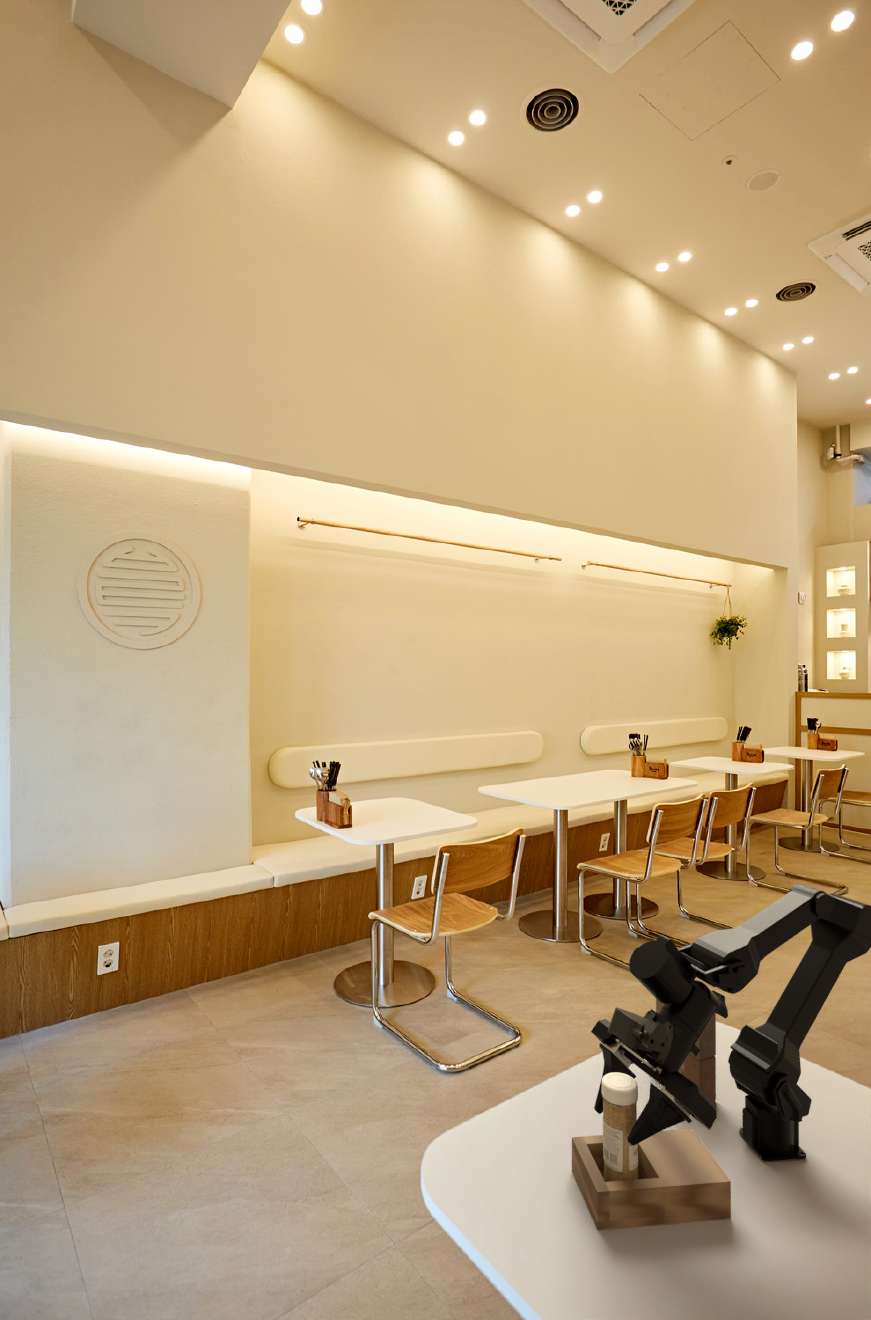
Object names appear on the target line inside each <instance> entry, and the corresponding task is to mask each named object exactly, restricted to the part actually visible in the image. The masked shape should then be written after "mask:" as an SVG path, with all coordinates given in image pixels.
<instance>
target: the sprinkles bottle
mask: <svg viewBox="0 0 871 1320" xmlns="http://www.w3.org/2000/svg"><path fill="white" fill-rule="evenodd" d="M601 1079H602V1097H603V1112H602V1115H603V1116H602V1135H603V1158H604V1178H603V1179H604V1181H605V1182H612V1181H625V1180H638V1144H636V1145H634V1146H633V1145H631V1144H630V1143H629V1142H628V1141H627V1138H628V1136H629V1134H630V1132H631V1130H632V1128H633V1126H634V1124H635V1123H636V1121H637V1119H638V1116H637V1115H638V1113H637V1107H638V1106H637V1105H638V1104H637V1102H638V1100H639V1089H638V1088H639V1085H638V1082H637V1080H636V1078H635V1079H634V1078H632V1077H631V1076H629V1075H627V1074H624V1073H619V1072H613V1073H608V1074H606V1075H604V1076H603V1078H602V1077H601Z"/></svg>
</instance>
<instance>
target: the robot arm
mask: <svg viewBox="0 0 871 1320" xmlns="http://www.w3.org/2000/svg"><path fill="white" fill-rule="evenodd" d="M809 926H810V931H811V932H810V933H811V942H810V945H808V948H807V950H806V951H805V953H804V954H803V956H802V958H801V960H800V962H799V964H798V965H797V967H796V969H795V971H794V972H793V973H792V976H791V977H790V979H789V981H788V983H786V986H785V988H784V989H783V992H782V993H781V995H780V997H779V998H778V1000H777V1002H776V1004H775V1005H774V1007H773V1009H772V1011H771V1012H770V1014H769V1016H768V1018H767V1020H766V1021H765V1022H764V1023H763V1024H762V1025H759V1026H757V1027H755V1028H753V1027H752V1026H751V1025H748V1024H745V1025H744V1026H743V1027H742V1028H741V1029H740V1032H739V1035H738V1037H737V1038H736V1040H735V1041H734V1042H733V1043H731V1045H730V1049H731V1052H730V1053H729V1057H728V1060H727V1061H728V1064H729V1072H730V1075H731V1077H732V1079H734V1083H735V1086H736V1088H737V1089H738V1090H739V1091H741V1092H744V1094H746V1095H745V1096H744V1105H745V1106H744V1107H743V1108H742V1110H741V1111H742V1115H741V1116H742V1119H741V1120H742V1121H741V1122H742V1127H740V1128H739V1130H738V1133H739V1134H740V1135H741V1136H742V1138H743V1140H745V1141H746V1143H747V1144H748V1145H749V1146H750V1147H751V1149H753V1151H754V1152H755V1153H756V1154H757V1156H758V1157H759V1158H760V1159H761V1161H763V1162H766V1163H767V1162H779V1161H793V1160H804V1159H805V1160H806V1159H807V1153H806V1152H805V1151H804V1150H803V1149H802V1147H800V1134H799V1133H800V1128H799V1127H800V1122H803V1117H806V1116H808V1115H809V1113H810V1109H811V1105H812V1101H813V1100H812V1099H811V1097H810V1096H809V1095H808V1094H807V1093H806V1092H805V1091H804V1090H803V1088H801V1086H799V1084H798V1082H799V1080H800V1077H801V1075H802V1068H801V1066H802V1065H801V1054H800V1049H801V1047H802V1045H803V1043H804V1041H805V1039H806V1037H807V1035H808V1034H809V1032H810V1029H811V1028H812V1026H813V1025H814V1022H815V1021H816V1019H817V1017H818V1015H819V1014H820V1012H821V1010H822V1008H823V1006H824V1005H825V1003H826V1001H827V999H828V998H829V995H830V993H831V991H832V990H833V988H834V986H835V985H836V983H837V981H838V979H839V977H840V975H841V974H842V971H843V970H844V968H845V966H846V965H847V964H848V963H849V962H852V961H853V960H855V959H857V958H859V957H861V956H864V955H866V954H867V953H868V952H869V951H870V949H871V905H870V904H867V903H865V902H861V901H858V900H855V899H852V898H849V897H846V896H843V895H839V894H837V893H833V892H832V893H827V892H826V891H824V890H821V889H818V888H815V887H812V886H808V885H806V884H801V883H800V884H794V885H792V886H791V887H790V888H789V890H788V892H787V893H786V894H784V895H783V896H781V897H780V898H779V899H776V901H774V902H773V903H771V904H770V905H768V906H766V907H765V908H764V909H762V910H761V911H759V912H758V913H756V914H755V915H753V916H751V917H750V918H749V919H746V921H744V922H743V923H741V924H739V925H737V926H736V927H733V928H728V929H727V928H725V929H718V930H713V931H711V932H709V933H707V934H704V935H701V936H700V937H698V938H696V939H695V940H694V941H693V942H692V943H691V944H688V945H684V946H682V947H680V948H679V947H678V946H677V945H676V944H675V942H674V941H673V940H672V939H670V938H669V937H667V936H665V935H664V934H660V935H658V937H657V938H656V939H655V940H650V941H647V942H644V943H643V944H641V945H640V946H638V947H636V948H635V949H634V950H633V951H632V953H631V955H630V958H629V961H628V962H629V963H628V966H629V971H630V973H631V974H632V976H633V977H634V978H635V979H637V981H638V982H639V983H640V984H641V986H643V987H644V988H645V990H647V991H648V992H649V993H650V994H651V995H652V996H653V997H654V998H655V1000H656V999H657V1000H658V1001H659V1002H661V1003H663V1005H662V1006H661V1008H660V1009H659V1011H658V1012H656V1010H653V1008H650V1010H647V1012H646V1013H645V1015H644V1016H641V1015H638V1014H636V1013H634V1012H632V1011H629V1010H625V1009H622V1008H620V1007H615V1008H614V1012H613V1013H612V1014H613V1015H612V1017H611V1020H608V1019H606V1018H604V1019H599V1020H598V1021H597V1022H596V1024H595V1025H594V1026H593V1027H592V1029H591V1031H590V1033H591V1034H593V1035H592V1036H594V1037H596V1039H597V1040H598V1041H599V1045H598V1046H599V1048H600V1050H601V1051H602V1052H601V1053H602V1057H603V1069H602V1076H601V1080H600V1082H599V1083H600V1084H599V1087H598V1090H597V1095H596V1099H595V1103H594V1107H593V1109H594V1111H596V1112H597V1114H599V1115H601V1114H603V1097H602V1078H603V1076H604V1075H606V1074H608V1073H613V1072H619V1073H624V1074H627V1075H629V1076H631V1077H632V1078H634V1079H635V1080H636V1078H637V1075H636V1074H635V1073H634V1072H633V1071H632V1070H631V1069H630V1066H631V1065H635V1066H636V1067H637V1068H639V1069H640V1070H641V1071H643V1072H644V1073H645V1074H646V1075H648V1076H649V1077H650V1078H652V1079H653V1080H654V1081H655V1082H656V1083H658V1084H660V1086H661V1089H659V1088H658V1087H657V1086H656V1085H654V1083H652V1082H650V1084H649V1098H648V1100H647V1103H646V1104H645V1106H644V1108H643V1110H642V1111H641V1113H640V1115H639V1116H638V1117H637V1121H636V1123H635V1124H634V1126H633V1128H632V1130H631V1132H630V1134H629V1136H628V1138H627V1141H628V1142H629V1143H630V1144H631V1145H633V1146H634V1145H636V1144H638V1143H640V1142H642V1141H643V1140H645V1139H647V1138H649V1137H651V1136H653V1135H654V1134H656V1133H658V1132H660V1131H665V1130H667V1129H668V1128H671V1127H673V1126H676V1125H678V1124H681V1123H683V1122H687V1123H688V1124H689V1125H690V1124H691V1123H692V1122H693V1119H695V1120H696V1121H697V1122H698V1123H700V1125H702V1126H703V1127H705V1128H706V1129H707V1130H711V1128H712V1127H713V1125H714V1123H715V1122H716V1121H717V1116H718V1115H717V1114H718V1113H717V1112H718V1109H717V1107H718V1106H717V1104H716V1103H715V1102H713V1101H712V1100H711V1099H710V1098H709V1097H708V1096H707V1095H706V1094H705V1093H704V1092H703V1091H702V1090H701V1089H700V1088H699V1087H698V1086H697V1085H696V1084H694V1083H693V1082H692V1081H690V1080H689V1079H688V1078H686V1077H685V1076H683V1075H682V1074H681V1073H679V1072H678V1071H679V1070H680V1068H681V1066H682V1065H683V1063H684V1062H685V1060H686V1058H687V1057H688V1055H689V1054H690V1053H691V1054H693V1055H694V1056H697V1055H698V1053H699V1052H700V1049H699V1048H698V1047H697V1046H696V1045H695V1044H696V1042H697V1041H698V1039H699V1038H700V1036H701V1034H702V1033H703V1031H704V1030H705V1028H706V1026H707V1025H708V1023H709V1022H710V1020H711V1018H712V1017H713V1015H714V1014H715V1013H716V1015H718V1016H720V1017H722V1018H724V1019H727V1018H729V1011H728V1007H727V1005H726V996H725V995H723V994H721V993H720V992H718V991H716V990H712V989H710V988H709V986H711V987H713V988H718V989H719V990H720V991H723V992H726V993H727V994H731V995H734V994H737V993H740V992H741V991H742V990H743V989H744V988H746V986H748V984H749V983H750V982H751V981H753V980H754V978H756V977H757V975H758V973H759V970H760V967H761V962H762V961H763V960H764V959H765V958H766V957H767V956H768V955H770V954H771V953H772V952H774V951H776V950H777V949H778V948H780V947H781V946H783V945H784V944H786V943H787V942H788V941H790V940H791V939H793V938H794V937H795V936H797V935H799V934H800V933H801V932H802V931H804V930H805V929H806V928H808V927H809ZM696 978H697V979H699V980H696ZM700 980H701V981H700ZM705 983H706V984H707V985H709V986H707V985H706V984H705ZM657 1068H658V1069H660V1070H661V1073H660V1072H659V1071H658V1070H657ZM659 1073H660V1074H659ZM690 1116H692V1118H693V1119H691V1118H690Z"/></svg>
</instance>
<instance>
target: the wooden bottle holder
mask: <svg viewBox="0 0 871 1320" xmlns="http://www.w3.org/2000/svg"><path fill="white" fill-rule="evenodd" d="M571 1173H572V1175H573V1178H574V1179H575V1182H576V1184H577V1187H578V1189H579V1192H580V1193H581V1195H582V1198H583V1200H584V1202H585V1204H586V1207H587V1210H588V1213H589V1214H590V1216H591V1219H592V1221H593V1223H594V1225H595V1228H596V1230H597V1231H602V1230H603V1231H604V1230H614V1229H625V1228H639V1227H650V1226H662V1225H671V1224H673V1225H674V1224H683V1223H685V1224H686V1223H696V1222H707V1221H708V1222H709V1221H716V1220H717V1221H719V1220H730V1219H732V1196H731V1195H732V1194H731V1193H732V1191H731V1190H732V1181H731V1180H730V1178H729V1177H728V1175H727V1174H726V1173H725V1172H724V1171H723V1169H722V1167H721V1166H720V1165H719V1163H718V1162H717V1161H716V1160H715V1157H713V1155H712V1154H711V1152H710V1151H709V1150H708V1149H707V1147H706V1146H705V1145H704V1143H703V1142H702V1141H701V1139H700V1138H699V1136H698V1135H697V1134H696V1133H695V1130H694V1129H692V1128H685V1129H684V1128H683V1129H671V1130H662V1131H660V1132H658V1133H656V1134H654V1135H653V1136H651V1137H649V1138H647V1139H645V1140H643V1141H642V1142H640V1143H638V1180H625V1181H612V1182H605V1181H604V1179H603V1178H604V1158H603V1134H600V1135H599V1134H598V1135H586V1136H585V1135H584V1136H572V1137H571Z"/></svg>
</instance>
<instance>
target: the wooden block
mask: <svg viewBox="0 0 871 1320" xmlns="http://www.w3.org/2000/svg"><path fill="white" fill-rule="evenodd" d="M662 1005H663V1003H661V1002H659V1001H658V1000H657V999H656V998H655V1012H658V1011H659V1009H660V1008H661V1006H662ZM716 1021H717V1013H715V1014H714V1015H713V1017H712V1018H711V1020H710V1022H709V1023H708V1025H707V1026H706V1028H705V1030H704V1031H703V1033H702V1034H701V1036H700V1038H699V1039H698V1041H697V1042H696V1044H695V1045H696V1046H697V1047H698V1048H699V1049H700V1052H699V1053H698V1055H697V1056H694V1055H693V1054H691V1053H690V1054H689V1055H688V1057H687V1058H686V1060H685V1062H684V1063H683V1065H682V1066H681V1068H680V1070H679V1071H678V1072H679V1073H681V1074H682V1075H683V1076H685V1077H686V1078H688V1079H689V1080H690V1081H692V1082H693V1083H694V1084H696V1085H697V1086H698V1087H699V1088H700V1089H701V1090H702V1091H703V1092H704V1093H705V1094H706V1095H707V1096H708V1097H709V1098H710V1099H711V1100H712V1101H713V1102H714V1103H715V1102H716V1100H717V1083H716V1082H717V1074H716V1073H717V1070H716V1069H717V1065H716V1064H717V1060H716V1059H717V1058H716V1055H717V1040H716V1039H717V1036H716V1035H717V1025H716V1024H717V1022H716ZM657 1070H658V1071H659V1072H660V1073H661V1070H660V1069H658V1068H657ZM660 1073H659V1074H660Z"/></svg>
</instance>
